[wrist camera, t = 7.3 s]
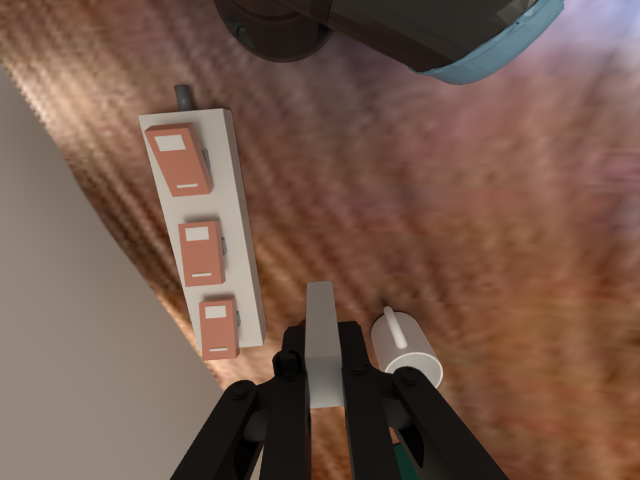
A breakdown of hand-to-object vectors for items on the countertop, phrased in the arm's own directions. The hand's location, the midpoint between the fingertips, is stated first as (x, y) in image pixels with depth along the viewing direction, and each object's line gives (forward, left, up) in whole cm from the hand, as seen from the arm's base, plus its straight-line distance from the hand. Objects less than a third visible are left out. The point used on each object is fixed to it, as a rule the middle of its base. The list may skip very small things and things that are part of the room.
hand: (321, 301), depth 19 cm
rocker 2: (+3, -15, -20) cm, 25 cm away
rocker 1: (-8, -15, -20) cm, 26 cm away
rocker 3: (+15, -15, -20) cm, 29 cm away
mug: (+21, +11, -27) cm, 36 cm away
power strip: (+2, -15, -26) cm, 30 cm away
